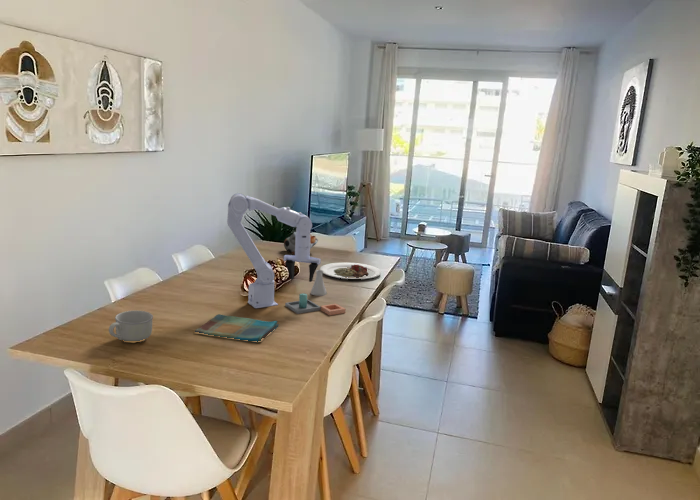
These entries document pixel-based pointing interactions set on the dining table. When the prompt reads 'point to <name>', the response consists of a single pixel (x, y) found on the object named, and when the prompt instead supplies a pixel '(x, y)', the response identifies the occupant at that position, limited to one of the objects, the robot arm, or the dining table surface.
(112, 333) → the teacup
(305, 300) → the pin
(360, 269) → the plated food
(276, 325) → the dish towel
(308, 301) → the tray
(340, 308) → the salmon square dish
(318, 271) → the flask
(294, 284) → the dining table surface
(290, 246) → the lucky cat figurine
